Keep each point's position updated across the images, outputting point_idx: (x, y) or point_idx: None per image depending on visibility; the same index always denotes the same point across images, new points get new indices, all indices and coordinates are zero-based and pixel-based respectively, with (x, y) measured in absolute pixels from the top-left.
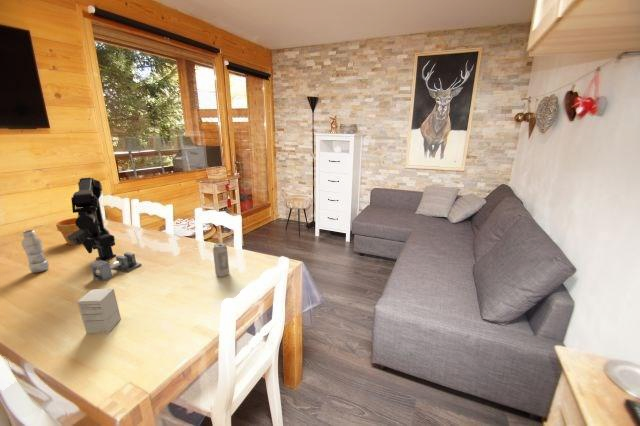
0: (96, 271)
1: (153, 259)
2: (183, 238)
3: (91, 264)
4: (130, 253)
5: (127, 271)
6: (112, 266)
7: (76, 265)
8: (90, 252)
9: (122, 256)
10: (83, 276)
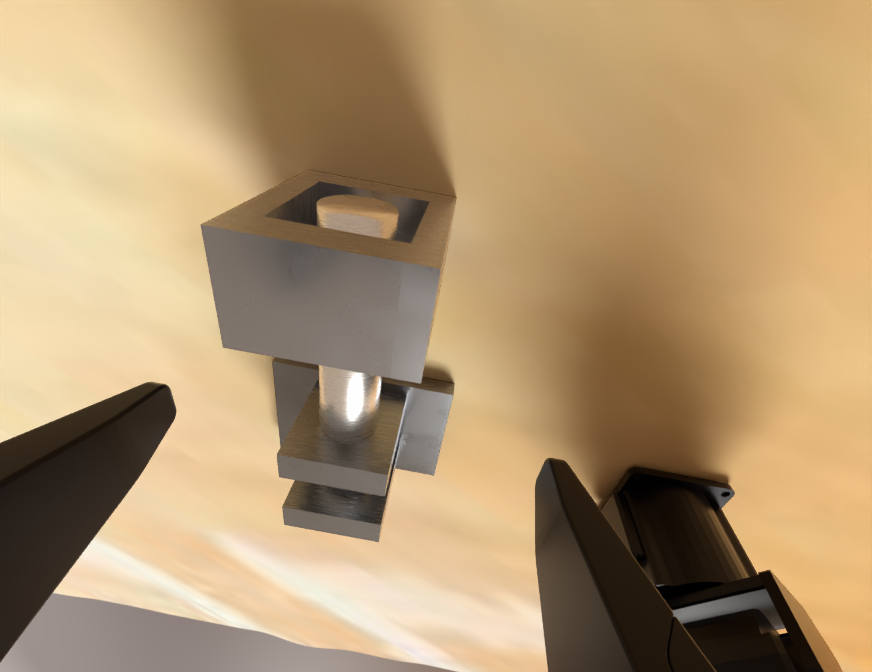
0: (358, 214)
1: None
2: (371, 652)
3: (406, 259)
4: (324, 527)
5: None
6: None
7: (850, 388)
8: (542, 479)
9: (331, 484)
10: (613, 222)
